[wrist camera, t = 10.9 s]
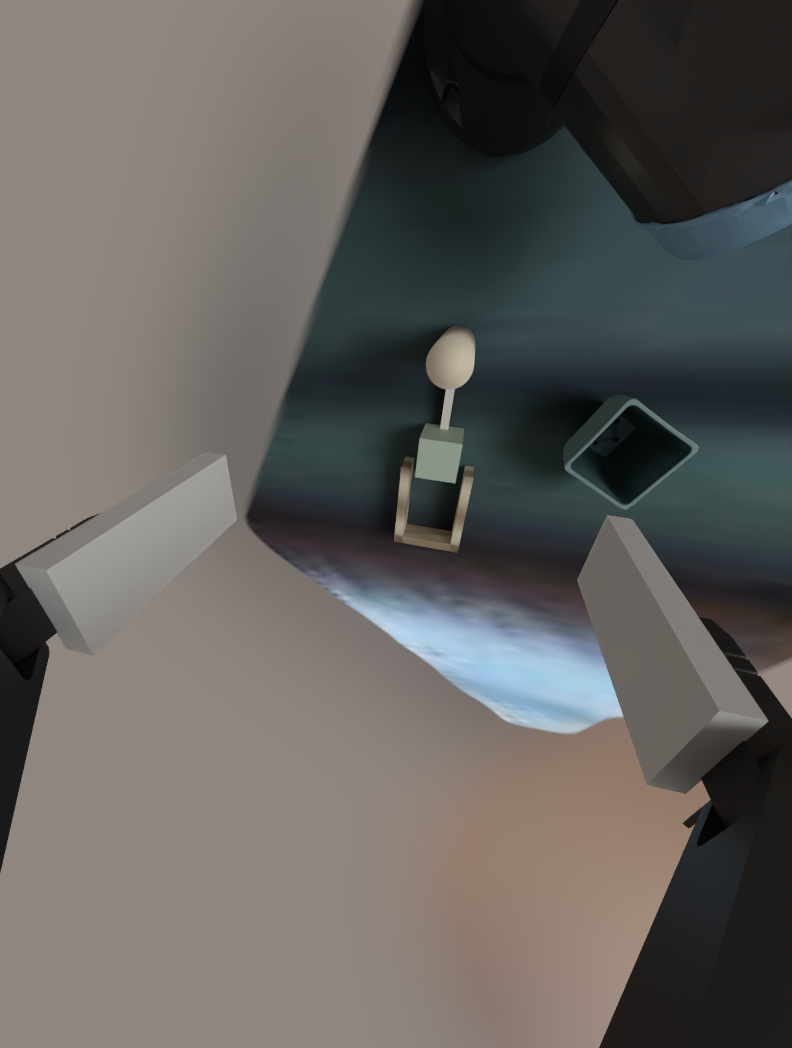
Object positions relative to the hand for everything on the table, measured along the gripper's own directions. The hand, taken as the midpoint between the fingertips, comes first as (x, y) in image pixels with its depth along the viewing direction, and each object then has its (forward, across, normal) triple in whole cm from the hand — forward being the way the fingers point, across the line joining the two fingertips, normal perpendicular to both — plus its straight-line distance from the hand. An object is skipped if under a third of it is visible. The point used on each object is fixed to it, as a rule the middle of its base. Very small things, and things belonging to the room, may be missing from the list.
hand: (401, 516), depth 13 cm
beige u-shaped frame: (+37, 0, -19) cm, 41 cm away
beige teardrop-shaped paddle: (+37, 0, -5) cm, 37 cm away
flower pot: (+37, +19, -6) cm, 42 cm away
